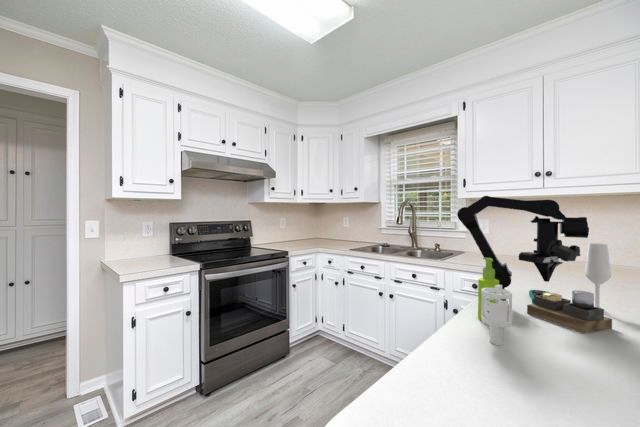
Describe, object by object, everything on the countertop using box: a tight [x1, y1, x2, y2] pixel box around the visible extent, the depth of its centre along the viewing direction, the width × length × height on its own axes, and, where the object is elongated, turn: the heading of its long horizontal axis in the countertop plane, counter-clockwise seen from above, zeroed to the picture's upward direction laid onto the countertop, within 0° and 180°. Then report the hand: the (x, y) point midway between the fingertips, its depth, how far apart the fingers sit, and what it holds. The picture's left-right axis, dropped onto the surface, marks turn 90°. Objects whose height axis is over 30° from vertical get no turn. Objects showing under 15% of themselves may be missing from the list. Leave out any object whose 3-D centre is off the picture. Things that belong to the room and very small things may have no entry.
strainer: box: [480, 285, 513, 346], centre depth 78 cm, size 7×7×15 cm
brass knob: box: [543, 291, 563, 301], centre depth 98 cm, size 5×5×4 cm
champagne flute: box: [584, 242, 612, 316], centre depth 102 cm, size 7×7×24 cm
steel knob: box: [571, 289, 595, 308], centre depth 89 cm, size 5×5×4 cm
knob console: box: [526, 295, 613, 334], centre depth 94 cm, size 12×17×6 cm
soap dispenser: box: [477, 257, 499, 322], centre depth 95 cm, size 6×7×20 cm
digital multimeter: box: [528, 289, 551, 304], centre depth 115 cm, size 7×15×3 cm, turn 148°
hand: (546, 281), depth 100 cm, fingers closed
